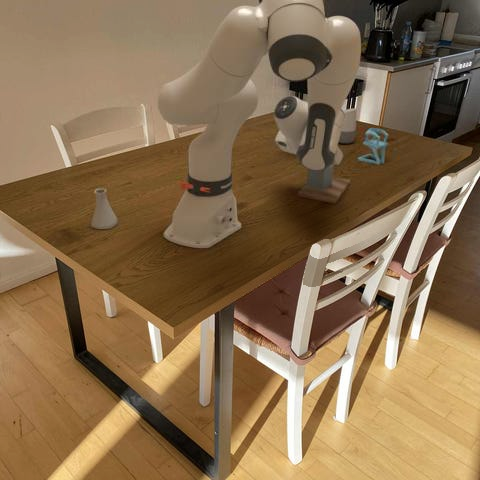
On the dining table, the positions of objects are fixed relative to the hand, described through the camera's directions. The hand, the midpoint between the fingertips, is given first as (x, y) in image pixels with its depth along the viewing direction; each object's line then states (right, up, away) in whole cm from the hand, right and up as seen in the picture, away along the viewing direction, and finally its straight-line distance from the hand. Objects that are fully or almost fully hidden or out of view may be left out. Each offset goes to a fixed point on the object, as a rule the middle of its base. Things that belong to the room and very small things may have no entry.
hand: (316, 160), depth 152 cm
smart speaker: (+19, +16, +49) cm, 55 cm away
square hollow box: (+2, -7, +5) cm, 9 cm away
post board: (+3, -8, +5) cm, 10 cm away
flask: (-61, -21, -19) cm, 68 cm away
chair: (+26, +5, +30) cm, 40 cm away
